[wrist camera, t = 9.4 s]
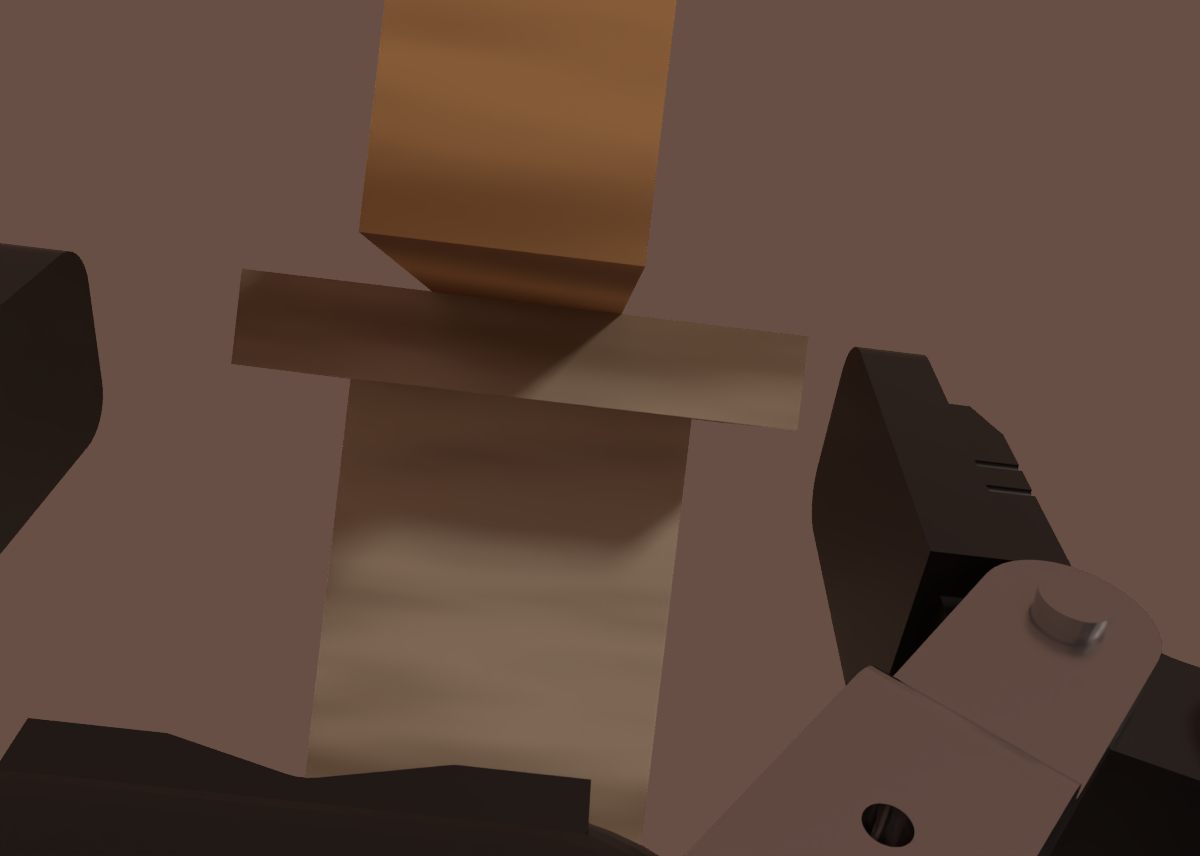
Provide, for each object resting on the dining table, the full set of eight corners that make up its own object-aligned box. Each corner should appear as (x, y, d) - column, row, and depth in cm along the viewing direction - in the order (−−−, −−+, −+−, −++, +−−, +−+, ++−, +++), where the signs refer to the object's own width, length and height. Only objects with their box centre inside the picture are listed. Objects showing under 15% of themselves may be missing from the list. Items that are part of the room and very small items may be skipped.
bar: (645, 265, 16) (678, -21, 16) (359, 231, 15) (391, -58, 15) (605, 345, 36) (620, 220, 36) (480, 330, 35) (495, 205, 35)
